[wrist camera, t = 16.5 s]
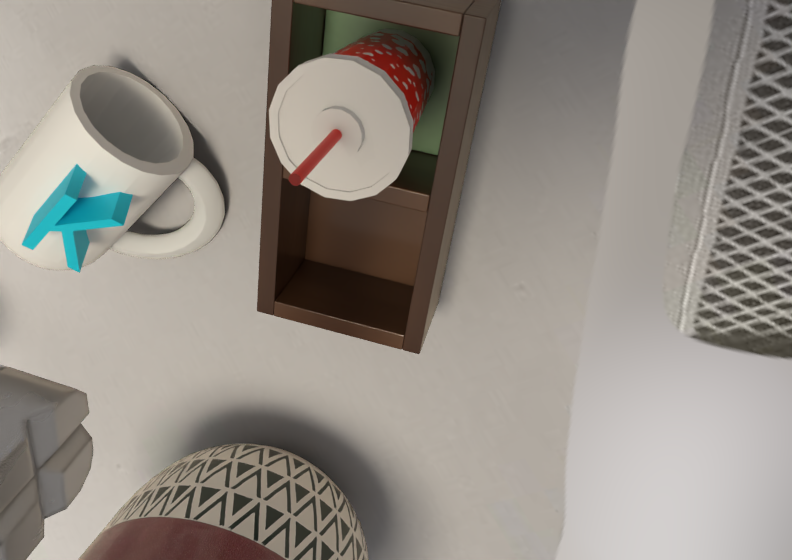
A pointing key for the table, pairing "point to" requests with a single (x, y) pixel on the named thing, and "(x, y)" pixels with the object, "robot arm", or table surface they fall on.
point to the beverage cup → (352, 115)
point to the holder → (396, 204)
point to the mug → (103, 176)
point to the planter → (234, 512)
